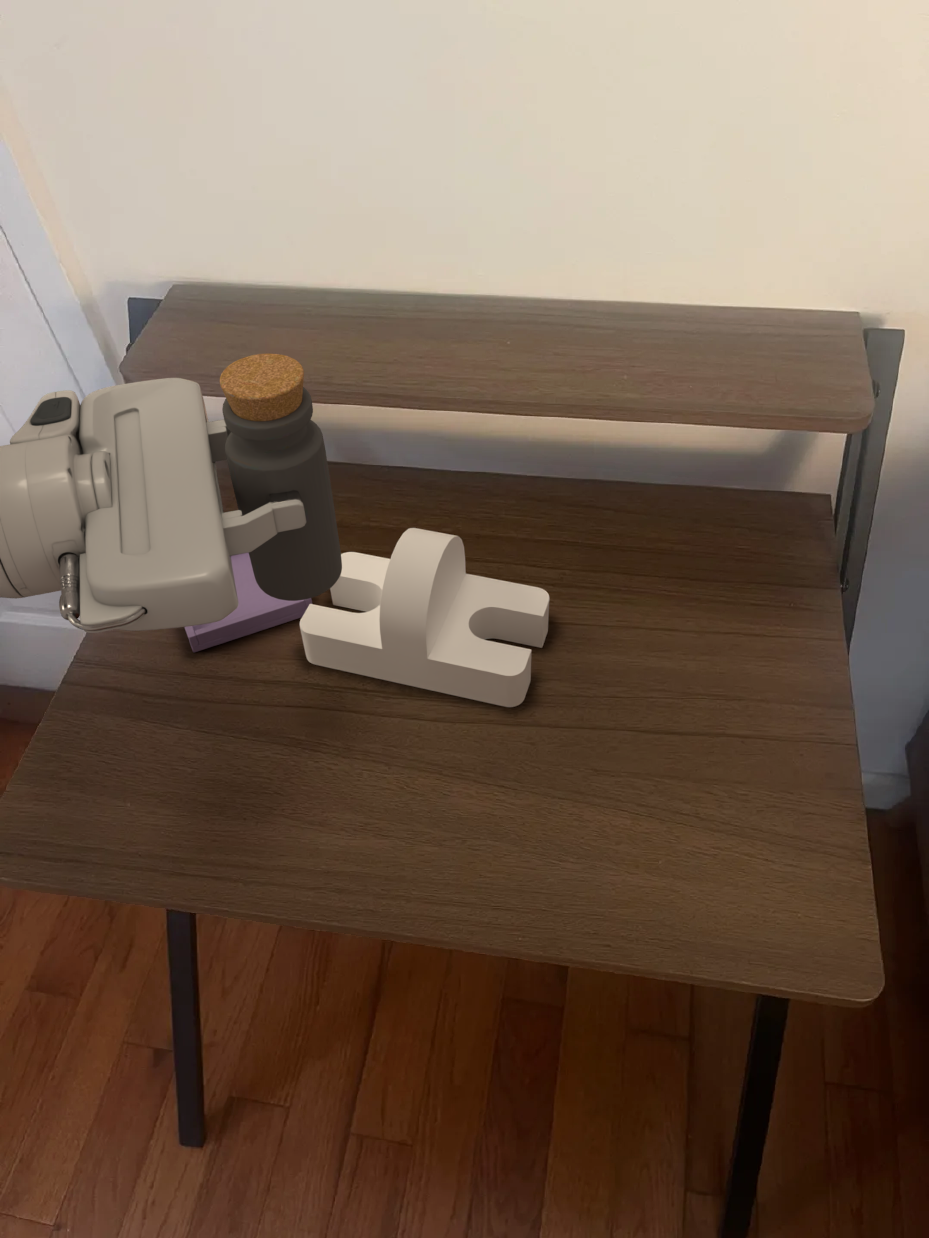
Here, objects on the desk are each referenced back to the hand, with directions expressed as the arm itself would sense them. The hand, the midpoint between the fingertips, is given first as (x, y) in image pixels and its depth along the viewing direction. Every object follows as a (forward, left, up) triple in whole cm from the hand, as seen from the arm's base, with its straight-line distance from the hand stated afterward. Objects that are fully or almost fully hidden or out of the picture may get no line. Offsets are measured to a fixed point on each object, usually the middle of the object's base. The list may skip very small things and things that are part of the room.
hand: (294, 471), depth 62 cm
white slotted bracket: (+9, +3, -22) cm, 24 cm away
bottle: (-1, 0, -8) cm, 8 cm away
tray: (-4, +15, -22) cm, 27 cm away
